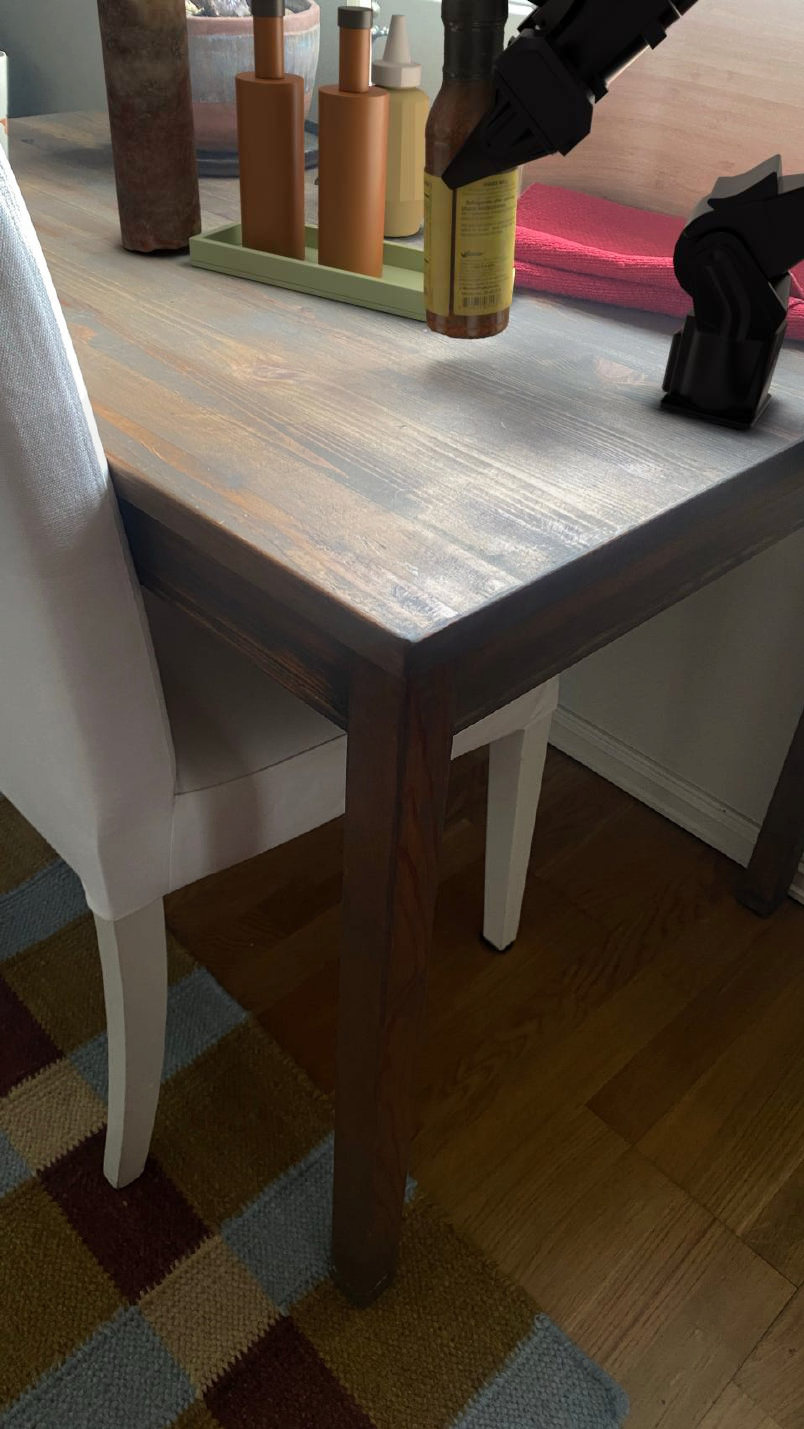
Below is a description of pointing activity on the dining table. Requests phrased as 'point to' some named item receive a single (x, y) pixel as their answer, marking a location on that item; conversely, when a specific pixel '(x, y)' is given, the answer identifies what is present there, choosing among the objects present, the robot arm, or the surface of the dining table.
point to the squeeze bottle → (402, 132)
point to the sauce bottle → (467, 186)
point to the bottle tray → (349, 180)
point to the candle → (151, 121)
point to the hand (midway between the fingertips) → (452, 171)
